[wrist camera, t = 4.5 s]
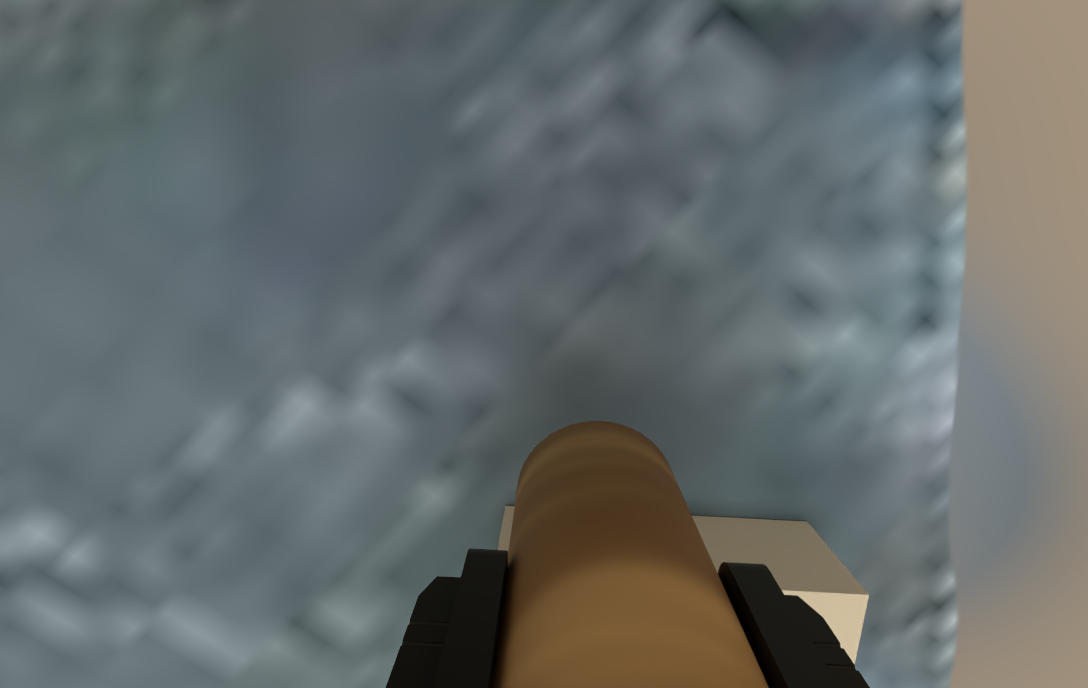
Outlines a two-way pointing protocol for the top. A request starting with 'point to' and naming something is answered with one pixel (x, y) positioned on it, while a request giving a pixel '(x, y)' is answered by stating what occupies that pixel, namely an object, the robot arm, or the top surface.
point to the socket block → (780, 566)
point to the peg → (612, 575)
